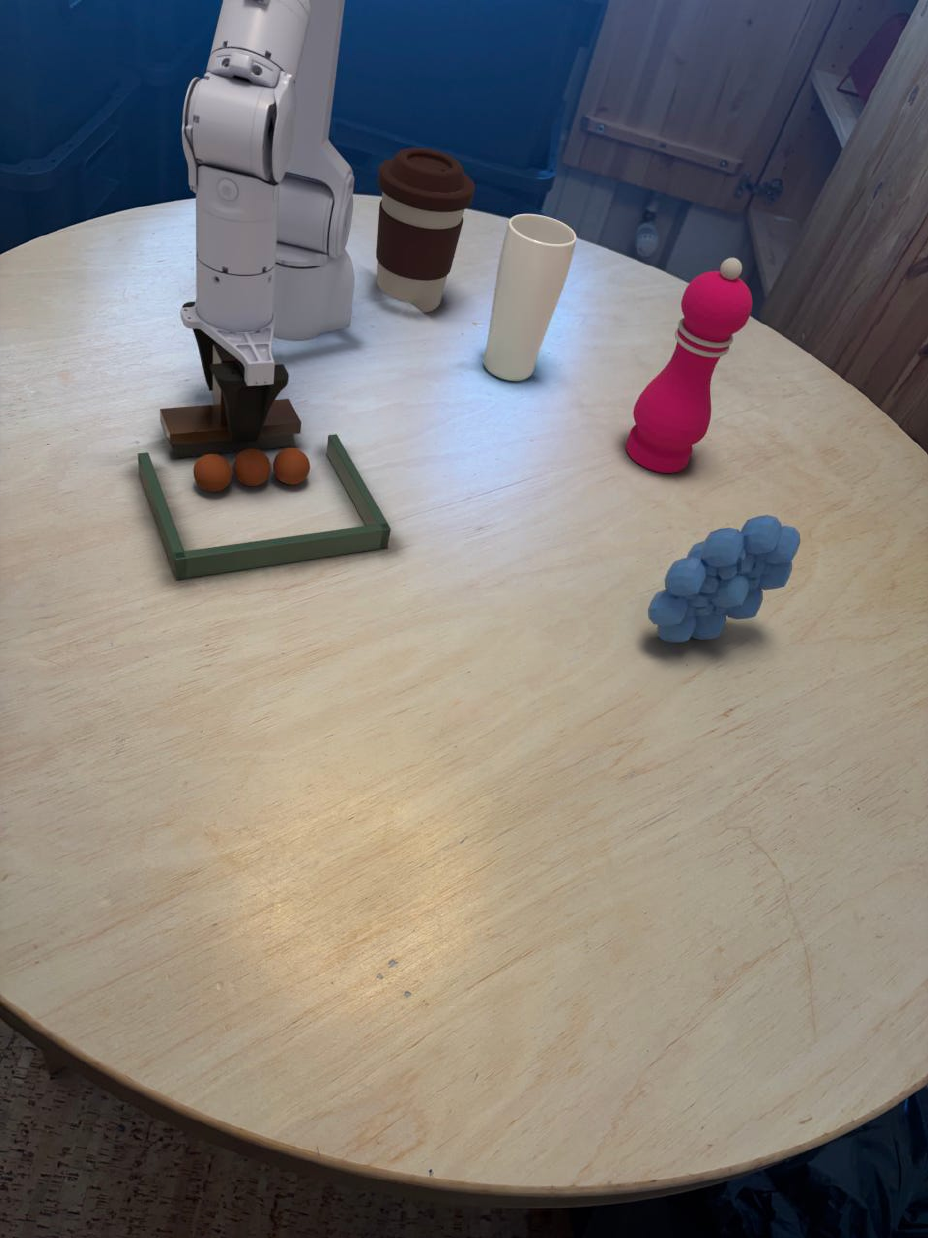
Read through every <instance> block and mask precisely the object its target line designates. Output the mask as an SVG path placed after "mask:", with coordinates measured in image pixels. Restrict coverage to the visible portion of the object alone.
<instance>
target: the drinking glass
mask: <svg viewBox="0 0 928 1238" xmlns="http://www.w3.org/2000/svg"><path fill="white" fill-rule="evenodd" d="M577 239H578V238H577V233H576V232H575V231H574V230H573V229H572V227H570V226H568V225H567V224H565V223H564V222H562V221H560V220H559V219H555V218H552V217H549V216H545V215H542V214H535V213H522V214H516V215H514V216H512V217H510V218H509V220H508V223H507V227H506V230H505V232H504V237H503V241H502V244H501V249H500V254H499V259H498V264H497V270H496V277H495V284H494V291H493V299H492V306H491V314H490V319H489V328H488V334H487V340H486V347H485V350H484V354H483V365H484V367H485V369H486V370H487V371H488V372H489V373H490V374H491V375H493V376H495V377H496V378H499V379H501V380H505V381H508V382H509V381H510V382H519V381H520V382H521V381H525V380H526V379H528V378H530V377H531V376H532V374H534V371H535V368H536V363H537V360H538V356H539V354H540V351H541V349H542V346H543V343H544V340H545V337H546V334H547V333H548V329H549V326H550V324H551V321H552V319H553V316H554V313H555V311H556V308H557V306H558V304H559V300H560V297H561V295H562V293H563V292H562V291H563V289H564V287H565V284H566V282H567V278H568V275H569V272H570V268H571V265H572V261H573V256H574V254H575V253H574V252H575V249H576V243H577Z"/></svg>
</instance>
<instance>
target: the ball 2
mask: <svg viewBox="0 0 928 1238" xmlns="http://www.w3.org/2000/svg"><path fill="white" fill-rule="evenodd" d="M272 469H273V473H274V475H275V477H276V478H277V479H278V480H279V481H280V482H282V483H283V484H287V485H297V484H300V483H302V482H303V481H305V480H306V478H307V477H308V476H309V474H310V470H311V463H310V459H309V457H308V456H307V455H306V453H305V452H304V451H302V450H301V449H299V448H297V447H285V448H283V449H281V450H279V452H277V453H276V455H275V456H274V459H273V462H272Z"/></svg>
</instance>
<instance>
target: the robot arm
mask: <svg viewBox="0 0 928 1238" xmlns="http://www.w3.org/2000/svg"><path fill="white" fill-rule="evenodd" d="M345 2H346V0H222V4H221V8H220V13H219V16H218V21H217V25H216V29H215V33H214V37H213V42H212V46H211V51H210V54H209V58H208V62H207V67H206V72H205V73H204V75H203V78H200V77H198V76H197V77H194V78H193V79H192V80H191V81H190V83H189V85H188V87H187V90H186V94H185V98H184V103H183V109H182V125H181V141H182V148H183V153H184V157H185V160H186V162H187V168H188V186H189V189H190V191H192V192H193V193H194V194H195V269H196V270H195V274H196V275H195V277H196V280H195V281H196V282H195V283H196V285H195V286H196V287H195V289H196V290H195V291H196V292H195V293H196V294H195V295H196V298H195V300H194V301H188V302H186V303H183V305H182V306H181V308H180V311H179V312H180V313H179V314H180V320H181V322H182V325H183V326H184V327H185V328H186V329H191V330H192V332H193V335H194V338H195V340H196V344H197V347H198V353H199V357H200V361H201V366H202V367H201V368H202V371H203V376H204V380H205V383H206V386H207V388H208V390H209V392H213V375H214V377H215V379H216V381H217V383H218V385H219V387H220V388H221V391H222V395H223V398H224V403H225V408H226V416H227V423H228V429H229V433H230V436H231V438H232V441H233V443H244V442H255V441H258V439H259V436H260V434H261V431H262V429H263V426H264V423H265V420H266V417H267V414H268V412H269V409H270V407H271V405H272V404H273V402H274V400H277V397H278V396H279V395H280V394H281V393H282V391H283V390H284V389H285V388H286V387H287V386H288V383H289V378H290V374H289V372H288V370H287V368H286V367H285V365H284V364H283V363H280V364H279V363H278V364H276V362H275V359H274V357H273V353H272V352H273V344H274V343H273V342H274V339H276V340H282V341H291V342H301V341H302V342H303V341H309V340H312V339H314V338H316V337H319V336H321V335H323V334H325V333H329V332H333V331H338V330H343V329H347V328H350V325H351V317H352V309H353V301H354V290H355V283H356V281H355V279H356V278H355V269H354V266H353V261H352V259H351V257H350V255H349V252H348V251H347V250H346V249H347V244H348V241H349V237H350V232H351V227H352V221H353V213H354V185H355V176H354V171H353V169H352V167H351V166H350V164H349V163H348V162H347V161H346V159H345V158H344V157H343V156H342V154H340V152H339V151H338V150H337V149H336V148H335V146H334V145H333V144H332V143H331V141H330V140H329V134H330V127H331V120H332V119H331V118H332V110H333V103H334V101H333V100H334V93H335V86H336V77H337V69H338V61H339V53H340V44H341V36H342V28H343V20H344V10H345V4H346V3H345ZM213 344H219V345H221V346H222V347H223V348H224V349H226V350H227V351H228V352H229V353H231V354H232V355H233V356H234V357H236V358H237V364H236V363H218V364H213Z"/></svg>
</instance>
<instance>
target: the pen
mask: <svg viewBox="0 0 928 1238" xmlns="http://www.w3.org/2000/svg"><path fill="white" fill-rule="evenodd" d="M325 453H326V456H327V458H328V459H329V461H330V463H331V465H332V467H333V468H334V470H335V472H336V474H337V476H338V478H339V480H340V481H341V483H342V485H343V487H344V488H345V490H346V492H347V494H348V496H349V498H350V499H351V501H352V503H353V505H354V507H355V509H356V510H357V512H358V514H359V516H360V518H361V519H362V521H363V523H364V525H362V526H354V527H348V528H341V529H334V530H333V529H332V530H325V531H320V532H319V531H318V532H311V533H305V534H297V535H290V536H284V537H283V536H282V537H276V538H270V539H269V538H268V539H261V540H255V541H247V542H240V543H233V544H226V545H219V546H213V547H212V546H211V547H204V548H198V549H197V548H196V549H190V550H185V549H184V547H183V544H182V541H181V539H180V536H179V533H178V530H177V528H176V525H175V523H174V520H173V517H172V514H171V511H170V508H169V506H168V503H167V501H166V498H165V494H164V492H163V489H162V487H161V484H160V480H159V478H158V476H157V473H156V470H155V467H154V465H153V462H152V459H151V456H150V454H149V452H148V451H147V452H138V453H137V464H138V475H139V477H140V481H141V483H142V487H143V489H144V492H145V494H146V495H145V496H146V498H147V500H148V504H149V506H150V509H151V512H152V514H153V518H154V521H155V523H156V526H157V529H158V533H159V535H160V537H161V541H162V544H163V547H164V549H165V550H164V551H165V552H166V555H167V559H168V561H169V564H170V567H171V570H172V572H173V575H174V578H175V580H176V581H177V580H184V579H190V578H191V579H192V578H198V577H202V576H209V575H210V576H211V575H217V574H222V573H230V572H236V571H242V570H249V569H256V568H262V567H269V566H276V565H282V564H283V565H284V564H289V563H295V562H301V561H308V560H315V559H320V558H321V559H322V558H326V557H327V558H328V557H335V556H341V555H348V554H354V553H361V552H367V551H374V550H375V551H376V550H380V549H387V548H388V547H389V541H390V536H391V531H392V528H391V526H390V525H389V523H388V521H387V520H386V517H385V516H384V514H383V512H382V511H381V509H380V507H379V506H378V504H377V502H376V500H375V498H374V497H373V495H372V493H371V492H370V490H369V488H368V486H367V484H366V482H365V481H364V479H363V478H362V476H361V474H360V473H359V471H358V469H357V467H356V465H355V464H354V462H353V460H352V458H351V456H350V455H349V453H348V451H347V450H346V448H345V446H344V444H343V443H342V441H341V439H340V438H339V435H337V433H335V434H328V436H327V444H326V452H325Z"/></svg>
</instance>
